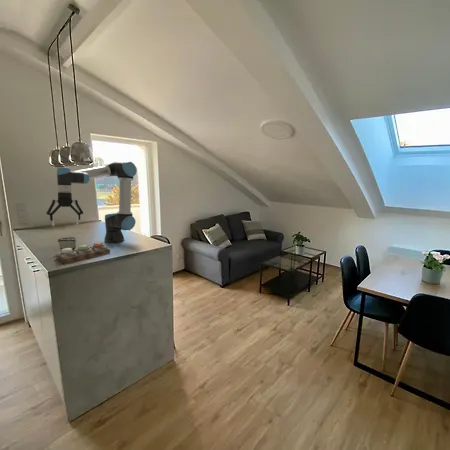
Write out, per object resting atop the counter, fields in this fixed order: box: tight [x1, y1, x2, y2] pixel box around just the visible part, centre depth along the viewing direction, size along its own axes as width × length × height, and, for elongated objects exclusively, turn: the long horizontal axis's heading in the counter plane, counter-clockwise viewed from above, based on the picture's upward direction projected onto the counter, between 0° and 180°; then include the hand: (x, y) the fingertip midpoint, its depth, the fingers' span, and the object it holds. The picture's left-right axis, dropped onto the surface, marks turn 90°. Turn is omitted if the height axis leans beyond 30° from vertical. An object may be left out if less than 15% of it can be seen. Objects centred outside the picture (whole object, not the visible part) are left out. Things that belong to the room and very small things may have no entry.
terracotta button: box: [92, 241, 104, 248], centre depth 185 cm, size 6×6×2 cm
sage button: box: [77, 244, 89, 251], centre depth 178 cm, size 6×6×2 cm
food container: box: [57, 236, 77, 251], centre depth 188 cm, size 12×6×10 cm, turn 92°
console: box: [55, 244, 111, 265], centre depth 178 cm, size 29×14×5 cm, turn 139°
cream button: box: [60, 248, 72, 254], centre depth 170 cm, size 6×6×2 cm
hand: (65, 225), depth 170 cm, fingers open, 13 cm apart
